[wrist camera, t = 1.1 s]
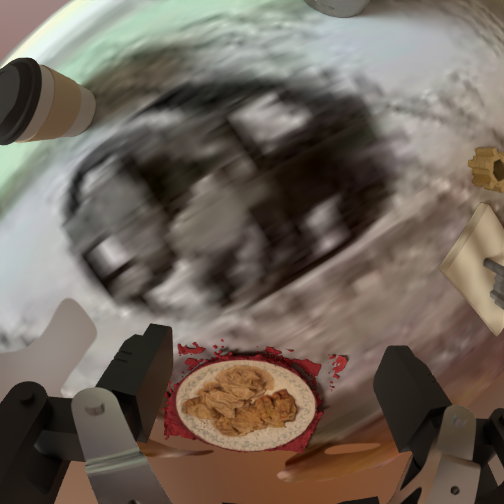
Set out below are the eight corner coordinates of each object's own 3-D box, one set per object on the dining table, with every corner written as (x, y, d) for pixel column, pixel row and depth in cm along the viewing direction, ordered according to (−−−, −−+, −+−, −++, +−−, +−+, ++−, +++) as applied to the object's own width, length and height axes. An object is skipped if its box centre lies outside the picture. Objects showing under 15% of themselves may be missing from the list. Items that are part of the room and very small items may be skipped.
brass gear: (479, 139, 29) (497, 139, 25) (498, 167, 30) (515, 169, 26) (462, 169, 31) (480, 171, 27) (482, 196, 32) (500, 201, 28)
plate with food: (300, 446, 46) (303, 459, 43) (165, 429, 45) (161, 442, 42) (345, 351, 40) (352, 365, 37) (168, 325, 38) (162, 338, 35)
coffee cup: (43, 108, 29) (-34, 99, 15) (89, 67, 28) (17, 34, 13) (63, 158, 31) (-19, 165, 17) (113, 117, 30) (34, 99, 16)
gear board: (480, 202, 32) (509, 210, 26) (525, 279, 35) (547, 293, 29) (437, 268, 35) (463, 285, 29) (491, 331, 38) (510, 349, 32)
